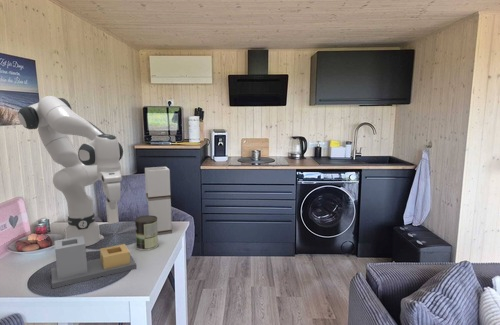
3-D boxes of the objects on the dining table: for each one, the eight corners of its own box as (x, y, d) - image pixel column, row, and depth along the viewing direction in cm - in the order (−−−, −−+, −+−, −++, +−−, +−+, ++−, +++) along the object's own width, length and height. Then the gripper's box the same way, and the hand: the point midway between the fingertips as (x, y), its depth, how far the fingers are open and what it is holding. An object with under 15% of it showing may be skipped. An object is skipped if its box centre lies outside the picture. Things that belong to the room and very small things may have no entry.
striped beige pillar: (168, 227, 184) (166, 166, 179) (171, 233, 175) (169, 169, 170) (147, 229, 180) (144, 167, 175) (150, 236, 170) (146, 170, 165)
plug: (107, 221, 135) (105, 197, 133) (117, 219, 137) (115, 196, 135) (108, 223, 131) (106, 199, 130) (118, 222, 133) (117, 198, 132)
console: (51, 273, 131) (48, 240, 129) (129, 256, 146) (127, 226, 144) (52, 288, 119) (48, 252, 117) (136, 268, 135) (134, 236, 132)
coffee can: (133, 251, 152) (132, 222, 150) (139, 242, 162) (138, 215, 160) (156, 250, 153) (154, 221, 151) (160, 241, 163) (159, 214, 161)
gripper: (97, 171, 138) (100, 203, 140) (104, 179, 121) (107, 215, 123) (113, 170, 141) (115, 200, 143) (122, 177, 124) (124, 212, 126)
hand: (111, 207), depth 133 cm, fingers closed on plug, 4 cm apart
